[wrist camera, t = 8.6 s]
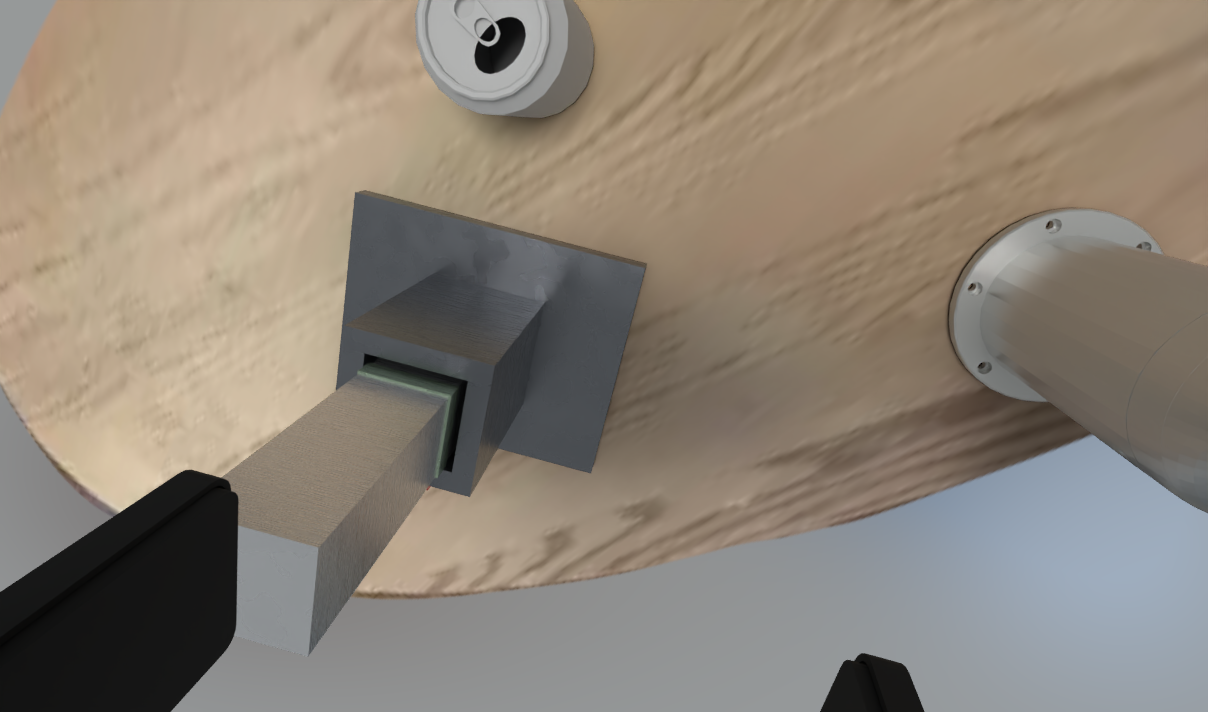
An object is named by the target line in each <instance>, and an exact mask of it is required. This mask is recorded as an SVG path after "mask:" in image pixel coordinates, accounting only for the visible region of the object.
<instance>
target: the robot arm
mask: <svg viewBox="0 0 1208 712" xmlns="http://www.w3.org/2000/svg"><path fill="white" fill-rule="evenodd" d="M1048 222H1050V224H1049V226H1048V227H1047V228H1046V224H1047V223H1048ZM1136 247H1137V248H1136ZM972 283H973V287H972V288H971V289H968V287H969V285H970V284H972ZM949 328H950V335H951V340H952V343H953V346H954V348H955V351H956V354H957V355H958V357H959V358H960V360H961V361H962V363H963V364H964V366H965V367H966V369H967V370H969V371H970V372H971V373H972V374H973V375H974V376H975V377H976V378H977V379H978V380H979V381H981V382H982V383H983V384H985V385H986V386H987V387H989V388H990V389H992V390H994V391H996V392H998V393H1001V394H1003V395H1005V396H1008V397H1011V398H1015V399H1019V400H1023V401H1033V402H1050V403H1051V404H1053V405H1054V406H1055V407H1057V408H1058V409H1060V410H1061V411H1062V412H1064V413H1065V414H1066V415H1068V416H1069V417H1070V418H1072V419H1073V420H1074V421H1076V422H1077V423H1078V424H1080V425H1081V426H1082V427H1084V428H1085V429H1086V430H1088V431H1089V432H1090V433H1092V434H1093V435H1094V436H1096V437H1097V438H1098V439H1100V440H1101V441H1103V442H1104V443H1105V444H1107V445H1108V446H1109V447H1111V448H1112V449H1113V450H1115V451H1116V452H1117V453H1119V454H1120V455H1121V456H1123V457H1124V458H1125V459H1127V460H1128V461H1129V462H1131V463H1132V464H1133V465H1135V466H1136V467H1138V468H1139V469H1140V470H1142V471H1143V472H1145V473H1146V474H1147V475H1149V476H1150V477H1152V478H1153V479H1154V480H1156V481H1157V482H1159V483H1160V484H1161V485H1162V486H1164V487H1165V488H1166V489H1168V490H1169V491H1171V492H1172V493H1173V494H1175V495H1176V496H1178V497H1179V498H1181V499H1182V500H1184V501H1186V502H1187V503H1189V504H1190V505H1192V506H1194V507H1196V508H1198V509H1200V510H1202V511H1205V512H1207V513H1208V266H1204V265H1200V264H1197V263H1193V262H1189V261H1185V260H1181V259H1177V258H1174V257H1170V256H1166V255H1164V253H1163V251H1162V250H1161V248H1160V246H1159V244H1158V243H1157V242H1156V241H1155V240H1154V238H1153V237H1152V236H1151V235H1150V234H1149V233H1148V232H1147V231H1146V230H1145V229H1143V228H1142V227H1140V226H1139V225H1137V224H1136V223H1134V222H1133V221H1131V220H1129V219H1127V218H1124V217H1122V216H1119V215H1116V214H1113V213H1111V212H1106V211H1101V210H1096V209H1087V208H1064V209H1056V210H1049V211H1046V212H1043V213H1039V214H1036V215H1032V216H1029V217H1027V218H1025V219H1023V220H1021V221H1019V222H1017V223H1015V224H1012V225H1010V226H1009V227H1007V228H1006V229H1004V230H1003V231H1001V232H1000V233H999V234H997V235H996V236H994V237H993V238H991V239H990V240H989V241H988V242H987V243H986V244H985V245H984V246H983V247H982V248H981V249H980V250H979V251H978V252H977V253H976V254H975V255H974V257H973V258H972V259H971V261H970V262H969V263H968V265H967V266H966V267H965V269H964V270H963V272H962V274H961V276H960V278H959V280H958V282H957V284H956V286H955V289H954V293H953V296H952V300H951V303H950V312H949ZM980 363H982V365H981V366H979V364H980ZM238 504H239V501H238V495H237V494H236V493H235V492H233V491H231V485H230V483H229V481H228V480H226V479H223V478H220V477H216V476H212V475H209V474H205V473H201V472H198V471H194V470H185V471H183V472H181V473H179V474H177V475H176V476H174V477H173V478H171V479H170V480H168V481H167V482H165V483H164V484H162V485H161V486H159V487H158V488H156V489H155V490H153V491H152V492H150V493H149V494H147V495H146V496H144V497H143V498H141V499H140V500H138V501H137V502H135V503H134V504H132V505H131V506H129V507H128V508H126V509H125V510H123V511H122V512H120V513H119V514H117V515H116V516H114V517H113V518H111V519H110V520H108V521H107V522H105V523H104V524H102V525H101V526H99V527H98V528H96V529H94V530H93V531H92V532H90V533H88V534H87V535H85V536H84V537H82V538H81V539H79V540H78V541H76V542H75V543H73V544H72V545H70V546H69V547H67V548H66V549H64V550H63V551H61V552H60V553H59V554H57V555H55V556H54V557H52V558H51V559H49V560H48V561H46V562H45V563H43V564H42V565H40V566H39V567H37V568H36V569H34V570H33V571H31V572H30V573H28V574H27V575H25V576H24V577H22V578H21V579H19V580H18V581H16V582H15V583H13V584H12V585H10V586H9V587H7V588H6V589H4V590H3V591H1V592H0V712H171V711H172V710H173V708H174V707H175V706H176V705H177V704H178V703H179V702H180V701H181V699H182V698H183V697H184V696H185V695H186V694H187V693H188V692H189V691H190V690H191V688H192V687H193V686H194V685H195V684H196V682H198V681H199V680H200V678H201V677H202V676H203V675H204V674H205V673H206V672H207V671H208V669H210V667H211V666H212V665H213V664H214V663H215V662H216V661H217V660H218V659H219V657H220V656H221V655H222V654H223V653H224V652H225V650H226V649H227V648H228V646H229V645H230V643H231V641H232V639H233V637H234V634H235V631H236V621H237V562H238ZM820 712H924V710H923V707H922V705H921V702H920V699H919V697H918V694H917V692H916V689H915V687H914V685H913V682H912V679H911V677H910V674H909V672H908V670H907V668H906V667H905V666H904V665H903V664H901V663H898V662H894V661H891V660H887V659H883V658H880V657H876V656H872V655H869V654H865V653H864V654H863V653H862V654H860V655H858V656H857V658H856V660H855V661H851V660H846V661H844V662H843V664H842V666H841V668H840V670H839V672H838V674H837V676H836V679H835V681H834V683H833V685H832V687H831V689H830V692H829V694H828V696H827V698H826V700H825V702H824V705H823V707H822V709H821V711H820Z"/></svg>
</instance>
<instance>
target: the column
mask: <svg viewBox="0 0 1208 712" xmlns="http://www.w3.org/2000/svg"><path fill="white" fill-rule="evenodd" d="M467 384H468V381H466V380H462V379H459V378H455V377H451V376H447V375H444V374H440V373H436V372H432V371H429V370H425V369H421V368H418V367H414V366H410V365H406V364H403V363H399V362H395V361H391V360H388V359H384V358H379V359H377V360H376V361H375V362H373V363H370V362H369V363H367V364H366V365H365V366H363V367H362V368H361V369H359V370H358V373H357V375H356V376H355V377H353V378H352V379H351V380H350V381H348V382H347V383H346V384H344V385H343V386H342V387H340V388H339V389H338V390H336V391H335V392H334V393H332V394H331V395H330V396H328V397H327V398H326V399H324V400H323V401H322V402H320V403H319V404H318V405H317V406H315V407H314V408H313V409H311V410H310V411H309V412H307V413H306V414H305V415H303V416H302V417H301V418H299V419H298V420H297V421H295V422H294V423H293V424H291V425H290V426H289V427H287V428H286V429H285V430H284V431H282V432H281V433H280V434H278V435H277V436H276V437H274V438H273V439H272V440H270V441H269V442H268V443H266V444H265V445H264V446H262V447H261V448H260V449H258V450H257V451H256V452H255V453H253V454H252V455H251V456H249V457H248V458H247V459H245V460H244V461H243V462H241V463H240V464H239V465H237V466H236V467H235V468H233V469H232V470H231V471H229V472H228V473H227V474H225V475H224V476H223V477H222V478H223V479H226V480H228V481H229V483H230V485H231V491H233V492H235V493H236V494H237V495H238V501H239V504H238V562H237V621H236V631H235V634H234V636H236V637H240V638H243V639H247V640H251V641H254V642H258V643H261V644H265V645H269V646H272V647H275V648H279V649H282V650H286V651H290V652H294V653H297V654H300V655H304V656H307V657H308V656H309V655H310V653H311V652H312V651H313V649H314V648H315V646H316V645H317V644H318V642H319V640H320V639H321V638H322V636H323V635H324V634H325V632H326V631H327V629H328V628H329V627H330V625H331V624H332V622H333V621H334V620H335V618H336V617H337V615H338V614H339V612H340V611H341V610H342V608H343V607H344V605H345V604H346V603H347V601H348V600H349V598H350V597H351V595H352V594H353V593H354V591H355V590H356V588H357V587H358V586H359V584H360V583H361V581H362V580H363V579H364V577H365V576H366V574H367V573H368V571H369V570H370V569H371V567H372V566H373V564H374V563H375V562H376V560H377V559H378V557H379V556H380V554H381V553H382V552H383V550H384V549H385V547H386V546H387V545H388V543H389V542H390V540H391V539H392V538H393V536H394V535H395V533H396V532H397V530H398V529H399V528H400V526H401V525H402V523H403V522H404V521H405V519H406V518H407V516H408V515H409V514H410V512H411V511H412V509H413V508H414V506H415V505H416V504H417V502H418V501H419V499H420V498H421V497H422V495H423V494H424V492H425V491H426V489H427V488H428V487H429V485H430V484H431V482H432V481H433V480H434V478H438V477H439V475H440V474H441V473H442V471H443V470H444V468H445V467H446V461H447V460H448V458H449V457H450V456H451V454H452V453H453V451H454V450H455V448H456V446H457V441H458V435H459V429H460V424H461V418H462V412H463V407H464V401H465V395H466V390H467Z"/></svg>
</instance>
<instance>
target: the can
mask: <svg viewBox="0 0 1208 712" xmlns="http://www.w3.org/2000/svg"><path fill="white" fill-rule="evenodd" d="M415 23H416V42H417V45H418V49H419V52H420V55H421V58H422V61H423V64H424V67H425V69H426V70H427V72H428V73H429V75H430V76H431V78H432V79H433V81H434V82H435V84H436V85H437V87H438V88H439V89H440V90H441V91H442V92H443V93H444V94H446V95H447V96H448V97H449V98H450V99H452V100H453V101H454V102H455V103H456V104H458V105H459V106H462V107H464V108H467V109H469V110H472V111H474V112H477V113H479V114H488V115H501V116H515V117H531V118H544V117H547V116H551V115H554V114H557V113H560V112H561V111H563V110H564V109H566V108H567V107H568V106H570V105H571V104H573V103H574V102H575V101H576V100H577V98H578V97H579V95H580V94H581V93H582V91H583V90H584V89H585V87H586V86H587V83H588V80H589V77H590V74H591V71H592V68H593V56H594V43H593V39H592V35H591V31H590V27H589V24H588V22H587V21H586V19H585V17H584V15H583V14H582V12H581V10H580V9H579V7H578V6H577V4H576V3H575V2H574V1H573V0H419V1H418V5H417V9H416V13H415Z"/></svg>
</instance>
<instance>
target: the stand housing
mask: <svg viewBox="0 0 1208 712" xmlns="http://www.w3.org/2000/svg"><path fill="white" fill-rule="evenodd" d="M645 268H646V264H645V263H641V262H638V261H634V260H630V259H626V258H622V257H619V256H615V255H611V254H607V253H603V252H599V251H596V250H592V249H588V248H584V247H580V246H576V245H573V244H569V243H565V242H561V241H557V240H553V239H550V238H546V237H542V236H538V235H534V234H530V233H527V232H523V231H519V230H515V229H511V228H508V227H504V226H500V225H496V224H492V223H488V222H485V221H481V220H477V219H473V218H469V217H465V216H462V215H458V214H454V213H450V212H446V211H442V210H439V209H435V208H431V207H427V206H423V205H419V204H416V203H412V202H408V201H404V200H400V199H397V198H393V197H389V196H385V195H381V194H377V193H374V192H370V191H366V190H365V191H360V192H355V199H354V210H353V220H352V230H351V241H350V251H349V261H348V272H347V282H346V292H345V303H344V313H343V323H342V334H341V344H340V354H339V365H338V375H337V385H336V390H338V389H339V388H340V387H342V386H343V385H344V384H346V383H347V382H348V381H350V380H351V379H352V378H353V377H355V376H356V375H357V373H358V370H359V369H361V368H362V367H363V366H365V365H366V364H367V363H369V362H370V363H373V362H375V361H376V360H377V359H379V358H384V359H388V360H391V361H395V362H399V363H403V364H406V365H410V366H414V367H418V368H421V369H425V370H429V371H432V372H436V373H440V374H444V375H447V376H451V377H455V378H459V379H462V380H466V381H468V384H467V390H466V395H465V401H464V407H463V412H462V418H461V424H460V429H459V435H458V441H457V446H456V448H455V450H454V451H453V453H452V454H451V456H450V457H449V458H448V460H447V461H446V467H445V468H444V470H443V471H442V473H441V474H440V475H439V477H438V478H434V480H433V481H432V482H431V484H430V485H429V487H428V488H427V489H426V490H428V489H429V488H430V487H431V486H432V487H435V488H439V489H443V490H446V491H450V492H454V493H457V494H461V495H465V496H468V497H470V496H471V494H472V492H473V490H474V489H475V487H476V485H477V484H478V482H479V480H480V478H481V477H482V475H483V473H484V471H485V470H486V468H487V466H488V464H489V463H490V461H491V459H492V457H493V456H494V454H495V452H496V450H497V449H498V448H499V449H503V450H506V451H510V452H514V453H518V454H521V455H525V456H529V457H532V458H536V459H540V460H543V461H547V462H551V463H554V464H558V465H562V466H566V467H569V468H573V469H577V470H580V471H584V472H588V473H591V471H592V467H593V464H594V460H595V456H596V452H597V449H598V445H599V441H600V437H601V433H602V430H603V426H604V422H605V418H606V415H607V411H608V407H609V403H610V400H611V396H612V392H613V388H614V385H615V381H616V377H617V373H618V370H619V366H620V362H621V358H622V355H623V351H624V347H625V343H626V340H627V336H628V332H629V328H630V324H631V321H632V317H633V313H634V309H635V306H636V302H637V298H638V294H639V291H640V287H641V283H642V279H643V276H644V272H645Z"/></svg>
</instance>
